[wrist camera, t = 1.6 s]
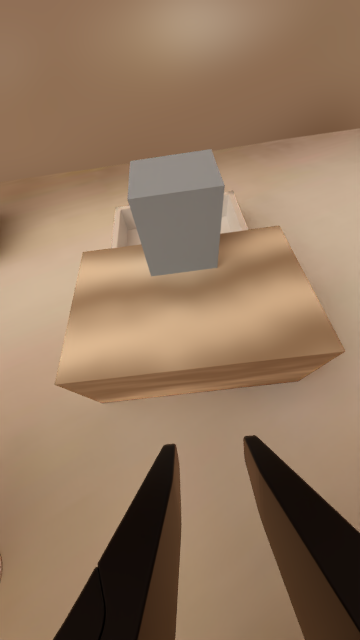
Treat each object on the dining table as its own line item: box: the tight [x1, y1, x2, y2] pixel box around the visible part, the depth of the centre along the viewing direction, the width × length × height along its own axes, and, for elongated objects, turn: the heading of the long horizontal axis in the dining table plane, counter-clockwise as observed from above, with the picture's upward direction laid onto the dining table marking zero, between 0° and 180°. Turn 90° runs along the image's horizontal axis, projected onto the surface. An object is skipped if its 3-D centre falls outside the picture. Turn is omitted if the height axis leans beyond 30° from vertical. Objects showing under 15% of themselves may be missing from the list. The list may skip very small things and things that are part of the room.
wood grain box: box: [55, 226, 345, 403], centre depth 21 cm, size 13×20×8 cm
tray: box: [111, 191, 248, 248], centre depth 30 cm, size 15×18×4 cm
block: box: [128, 149, 225, 276], centre depth 17 cm, size 5×6×7 cm
